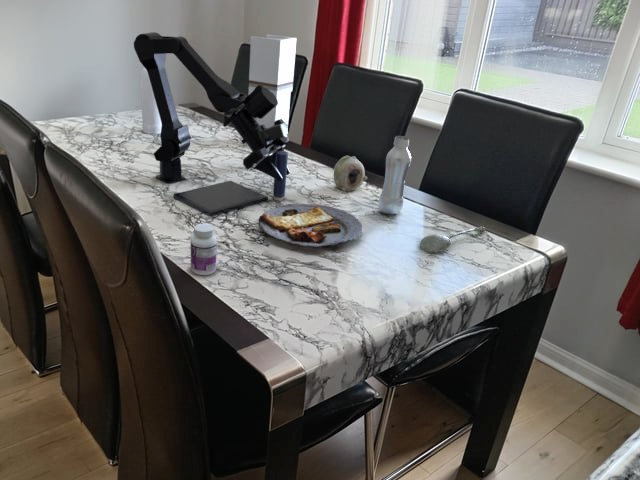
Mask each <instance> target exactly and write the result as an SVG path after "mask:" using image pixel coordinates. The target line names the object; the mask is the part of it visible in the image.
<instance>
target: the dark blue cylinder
mask: <svg viewBox="0 0 640 480" xmlns="http://www.w3.org/2000/svg"><path fill="white" fill-rule="evenodd" d="M288 159H289V152H288V151H285V150H284V151H277V152H276V160H275V166H276V167H277V169H278V171H279V172H280V174H281V176H282V178H283V179H282V180H281V181H278V180H277V179H275V178H273V189H272V190H273V191H272V196H273V199H274V201H278V202H281V201H283V200H284V197H285V196H286V184H287V175H286V174H287V165H288Z"/></svg>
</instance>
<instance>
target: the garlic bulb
mask: <svg viewBox="0 0 640 480" xmlns="http://www.w3.org/2000/svg"><path fill="white" fill-rule="evenodd" d="M367 179H368V176H366V171H365V167H364V165H363V163H362V162H361V161H359V159H357V157H356V156H355V155H353V156H350V155H345V156H342V157H341V158H340V159H339V160H338V161H337V162H336V164H335V165H334V168H333V182H334V184H335V186H336V187H337V188H338V189H341V190H342V191H346V192H350V191H351V192H352V191H356V190H357V189H358V188H360V187H361V186H362V185H363V183H364V181H367Z"/></svg>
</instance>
